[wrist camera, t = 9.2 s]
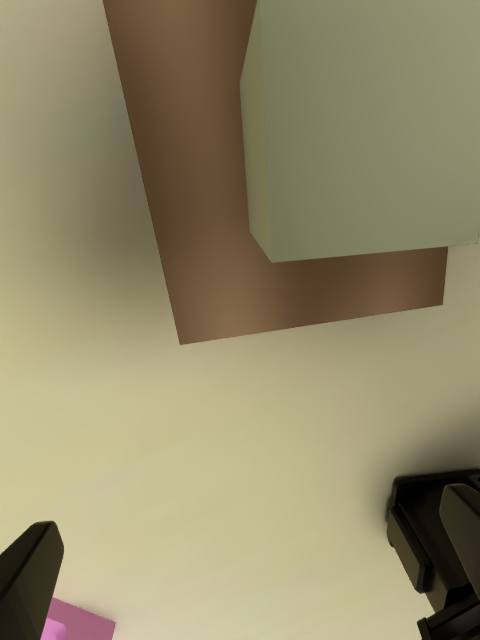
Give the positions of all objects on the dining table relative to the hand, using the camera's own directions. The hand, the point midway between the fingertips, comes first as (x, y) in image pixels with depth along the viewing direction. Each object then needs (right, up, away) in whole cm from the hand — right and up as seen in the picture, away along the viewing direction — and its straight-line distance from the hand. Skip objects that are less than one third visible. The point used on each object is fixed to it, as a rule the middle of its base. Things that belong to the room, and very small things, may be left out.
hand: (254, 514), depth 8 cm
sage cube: (+2, +11, +5) cm, 12 cm away
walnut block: (+2, +12, +9) cm, 15 cm away
